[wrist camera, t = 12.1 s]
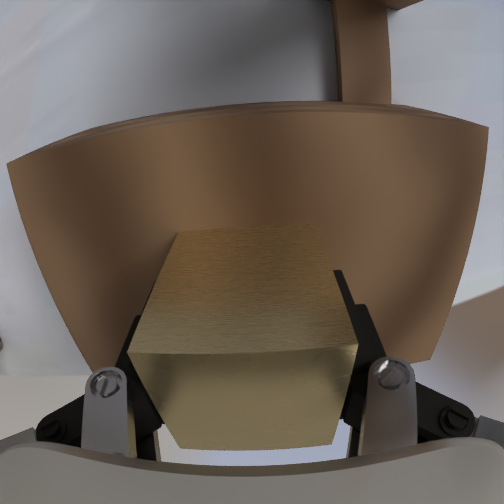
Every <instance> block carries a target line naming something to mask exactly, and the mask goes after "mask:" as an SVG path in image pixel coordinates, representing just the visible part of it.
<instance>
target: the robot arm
mask: <svg viewBox="0 0 504 504" xmlns="http://www.w3.org/2000/svg"><path fill="white" fill-rule="evenodd" d="M333 272H334V275H335V278H336V281H337V283H338V286H339V289H340V292H341V294H342V297H343V300H344V303H345V306H346V308H347V311H348V314H349V317H350V320H351V323H352V326H353V329H354V332H355V335H356V338H357V341H358V349H357V353H356V357H355V362H354V366H353V370H352V374H351V378H350V382H349V386H348V390H347V394H346V397H345V401H344V405H343V408H342V412H341V415H340V419H343V420H344V422H345V423H346V424H348V425H350V426H351V428H350V435H349V442H348V448H347V455H346V458H344V459H337V460H329V461H321V462H312V463H301V464H288V465H271V466H210V465H192V464H179V463H169V462H161V456H160V448H159V441H158V433H157V429H159V428H160V427H161V425H162V424H165V423H164V421H163V419H162V418H161V416H160V414H159V413H158V411H157V409H156V407H155V405H154V404H153V402H152V400H151V398H150V396H149V395H148V393H147V391H146V389H145V387H144V385H143V383H142V381H141V379H140V378H139V376H138V374H137V372H136V370H135V368H134V366H133V364H132V362H131V359H130V357H129V355H128V353H127V351H128V349H129V346H130V343H131V341H132V338H133V336H134V333H135V331H136V328H137V326H138V323H139V321H140V318H141V316H142V313H143V311H144V309H145V306H146V304H147V301H148V299H149V297H150V294H151V292H152V290H153V287H154V285H155V283H156V281H155V282H154V284H153V287H152V289H151V291H150V294H149V296H148V298H147V301H146V303H145V305H144V308H143V310H142V312H141V315H137V316H136V317H135V318H134V320H133V323H132V325H131V328H130V330H129V332H128V335H127V337H126V340H125V342H124V344H123V347H122V349H121V352H120V354H119V357H118V359H117V362H116V364H115V367H104V368H101V369H99V370H97V371H95V372H94V373H93V374H92V375H91V376H90V377H89V379H88V380H87V383H86V387H85V394H84V395H82V396H81V397H79V398H77V399H75V400H74V401H72V402H70V403H68V404H67V405H65V406H63V407H62V408H60V409H58V410H56V411H54V412H52V413H51V414H49V415H47V416H46V417H44V418H43V419H42V420H41V421H40V423H39V424H38V426H37V428H36V430H35V429H34V428H33V427H32V428H30V429H27V430H25V431H22V432H20V433H17V434H15V435H12V436H10V437H7V438H5V439H2V440H0V504H504V423H503V422H500V421H497V420H493V419H490V418H487V417H484V416H480V417H479V418H476V417H474V415H473V412H472V411H471V410H470V409H469V408H468V407H467V406H465V405H464V404H462V403H460V402H457V401H455V400H453V399H451V398H449V397H447V396H445V395H443V394H440V393H438V392H436V391H434V390H432V389H429V388H428V387H426V386H424V385H421V384H420V383H418V382H415V374H414V370H413V369H412V367H411V365H410V364H409V363H407V362H406V361H405V360H403V359H400V358H398V357H392V356H390V357H387V356H386V353H385V350H384V348H383V345H382V343H381V340H380V338H379V335H378V333H377V330H376V328H375V325H374V323H373V320H372V318H371V316H370V313H369V311H368V308H367V306H366V305H365V304H355V303H354V300H353V298H352V295H351V292H350V290H349V287H348V285H347V282H346V280H345V278H344V275H343V273H342V271H341V270H333Z"/></svg>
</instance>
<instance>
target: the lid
mask: <svg viewBox="0 0 504 504" xmlns="http://www.w3.org/2000/svg"><path fill="white" fill-rule="evenodd" d="M488 130H489V127H486V126H482V125H479V124H476V123H473V122H467V121H461V120H455V119H448V118H441V117H434V116H425V115H416V114H406V113H395V112H381V111H363V110H276V111H258V112H243V113H231V114H221V115H211V116H203V117H195V118H187V119H180V120H173V121H166V122H160V123H154V124H148V125H143V126H137V127H132V128H127V129H122V130H117V131H113V132H108V133H104V134H99V135H95V136H91V137H87V138H83V139H79V140H75V141H71V142H68V143H64V144H60V145H57V146H53V147H50V148H47V149H43V150H40V151H37V152H34V153H31V154H27V155H24V156H22V157H19V158H17V159H15V160H13V161H11V162H9V163H7V168H8V172H9V176H10V180H11V184H12V188H13V192H14V195H15V199H16V202H17V205H18V209H19V212H20V215H21V218H22V221H23V224H24V227H25V230H26V233H27V236H28V239H29V242H30V244H31V247H32V250H33V252H34V255H35V258H36V260H37V263H38V265H39V268H40V270H41V272H42V275H43V277H44V280H45V282H46V284H47V286H48V289H49V291H50V293H51V295H52V297H53V300H54V302H55V304H56V306H57V308H58V310H59V312H60V314H61V316H62V318H63V320H64V322H65V324H66V326H67V328H68V330H69V332H70V334H71V336H72V337H73V339H74V341H75V343H76V345H77V346H78V348H79V350H80V352H81V354H82V355H83V357H84V359H85V360H86V362H87V364H88V365H89V367H90V369H91V370H92V372H93V373H94V372H95V371H97V370H99V369H101V368H104V367H115V364H116V362H117V359H118V357H119V354H120V352H121V349H122V347H123V344H124V342H125V340H126V337H127V335H128V332H129V330H130V328H131V325H132V323H133V320H134V318H135V317H136V316H137V315H141V312H142V310H143V308H144V305H145V303H146V301H147V298H148V296H149V294H150V291H151V289H152V287H153V284H154V282H155V281H156V283H155V285H154V287H153V290H152V292H151V294H150V297H149V299H148V301H147V304H146V306H145V309H144V311H143V313H142V316H141V318H140V321H139V323H138V326H137V328H136V331H135V333H134V336H133V338H132V341H131V343H130V346H129V349H128V351H127V353H128V355H129V357H130V359H131V362H132V364H133V366H134V368H135V370H136V372H137V374H138V376H139V378H140V379H141V381H142V383H143V385H144V387H145V389H146V391H147V393H148V395H149V396H150V398H151V400H152V402H153V404H154V405H155V407H156V409H157V411H158V413H159V414H160V416H161V418H162V419H163V421H164V423H165V424H166V426H167V428H168V430H169V431H170V433H171V434H172V436H173V438H174V439H175V441H176V443H177V444H178V446H179V447H180V448H183V449H199V450H274V449H290V448H301V447H313V446H321V445H330V444H332V441H333V438H334V435H335V432H336V428H337V425H338V421H339V419H340V415H341V412H342V408H343V405H344V401H345V397H346V394H347V390H348V386H349V382H350V378H351V374H352V370H353V366H354V362H355V357H356V353H357V349H358V341H357V338H356V335H355V332H354V329H353V326H352V323H351V320H350V317H349V314H348V311H347V308H346V306H345V303H344V300H343V297H342V294H341V292H340V289H339V286H338V283H337V281H336V278H335V275H334V272H333V270H341V271H342V273H343V275H344V278H345V280H346V282H347V285H348V287H349V290H350V292H351V295H352V298H353V300H354V303H355V304H365V305H366V306H367V308H368V311H369V313H370V316H371V318H372V320H373V323H374V325H375V328H376V330H377V333H378V335H379V338H380V340H381V343H382V345H383V348H384V350H385V353H386V356H387V357H390V356H392V357H398V358H400V359H403V360H405V361H406V362H407V363H409V364H411V363H417V362H421V361H426V360H430V358H431V356H432V354H433V352H434V349H435V347H436V344H437V342H438V339H439V337H440V335H441V332H442V330H443V327H444V325H445V322H446V320H447V317H448V314H449V311H450V309H451V306H452V303H453V300H454V297H455V294H456V291H457V288H458V285H459V282H460V279H461V275H462V272H463V269H464V265H465V261H466V258H467V254H468V250H469V247H470V243H471V239H472V234H473V230H474V226H475V221H476V216H477V211H478V206H479V201H480V195H481V190H482V183H483V177H484V170H485V162H486V153H487V143H488Z"/></svg>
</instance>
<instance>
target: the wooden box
mask: <svg viewBox="0 0 504 504" xmlns="http://www.w3.org/2000/svg"><path fill="white" fill-rule="evenodd" d="M329 1H331V3H332V12H333V23H334V34H335V47H336V62H337V82H338V101H285V102H263V103H248V104H235V105H224V106H215V107H206V108H198V109H190V110H183V111H176V112H170V113H163V114H157V115H152V116H146V117H141V118H136V119H131V120H126V121H121V122H117V123H112V124H108V125H103V126H99V127H95V128H91V129H88V130H85V131H82V132H79V133H77V134H74V135H71V136H69V137H66V138H63V139H61V140H58V141H56V142H53V143H51V144H49V145H46V146H44V147H42V148H39V149H37V150H35V151H32V152H30V153H28V154H31V153H34V152H37V151H40V150H43V149H47V148H50V147H53V146H57V145H60V144H64V143H68V142H71V141H75V140H79V139H83V138H87V137H91V136H95V135H99V134H104V133H108V132H113V131H117V130H122V129H127V128H132V127H137V126H143V125H148V124H154V123H160V122H166V121H173V120H180V119H187V118H195V117H203V116H211V115H221V114H231V113H243V112H258V111H276V110H363V111H381V112H395V113H406V114H416V115H425V116H434V117H441V118H448V119H455V120H461V121H466V120H463V119H459V118H456V117H452V116H448V115H445V114H441V113H437V112H433V111H428V110H424V109H420V108H415V107H411V106H406V105H395V104H391V68H390V49H389V36H388V24H387V14H386V7H387V8H393V9H398V10H400V9H403V8H405V7H407V6H410V5H412V4H415V3H418V2H420V1H423V0H329ZM467 122H470V121H467ZM26 155H27V154H26Z"/></svg>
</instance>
